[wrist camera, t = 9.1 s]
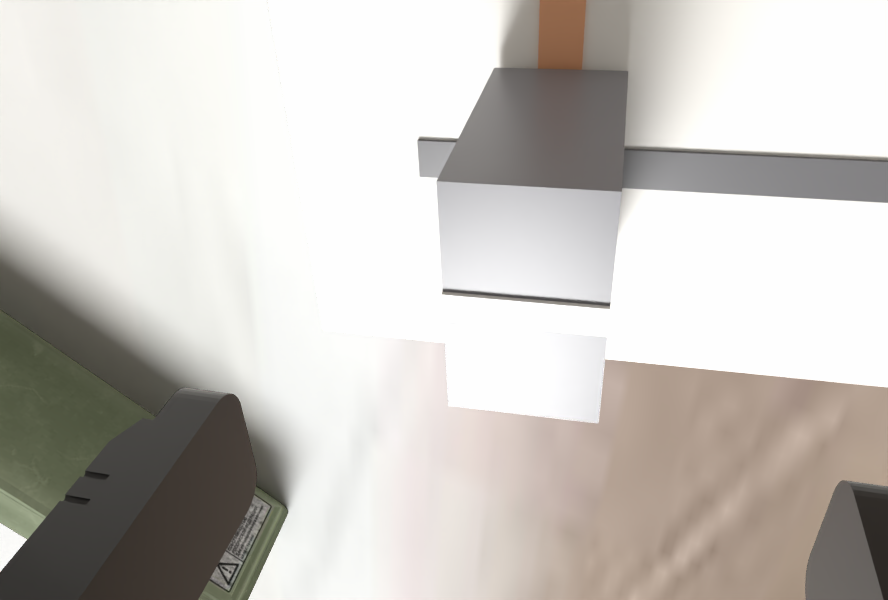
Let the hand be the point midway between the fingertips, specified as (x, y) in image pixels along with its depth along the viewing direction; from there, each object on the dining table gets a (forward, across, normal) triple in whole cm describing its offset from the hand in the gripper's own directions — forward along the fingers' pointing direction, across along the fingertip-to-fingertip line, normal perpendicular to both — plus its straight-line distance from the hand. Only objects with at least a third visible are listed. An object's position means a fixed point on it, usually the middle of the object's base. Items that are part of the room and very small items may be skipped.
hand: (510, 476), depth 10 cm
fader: (+10, 0, 0) cm, 10 cm away
